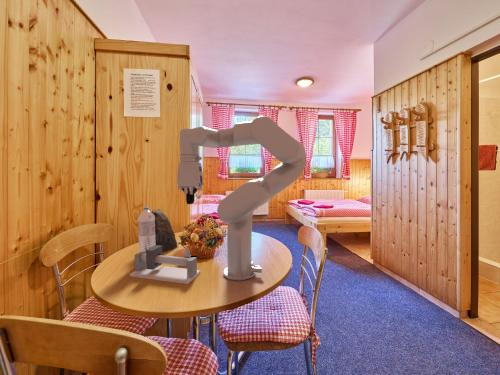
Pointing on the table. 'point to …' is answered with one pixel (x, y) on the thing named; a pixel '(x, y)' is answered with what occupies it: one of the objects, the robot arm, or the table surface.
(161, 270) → the slider rail stand
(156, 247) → the collar
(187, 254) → the skincare box
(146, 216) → the water bottle
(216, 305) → the table surface
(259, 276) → the table surface
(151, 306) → the table surface
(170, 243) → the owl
